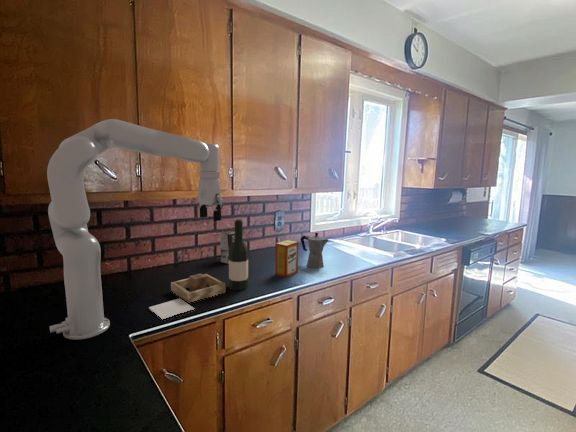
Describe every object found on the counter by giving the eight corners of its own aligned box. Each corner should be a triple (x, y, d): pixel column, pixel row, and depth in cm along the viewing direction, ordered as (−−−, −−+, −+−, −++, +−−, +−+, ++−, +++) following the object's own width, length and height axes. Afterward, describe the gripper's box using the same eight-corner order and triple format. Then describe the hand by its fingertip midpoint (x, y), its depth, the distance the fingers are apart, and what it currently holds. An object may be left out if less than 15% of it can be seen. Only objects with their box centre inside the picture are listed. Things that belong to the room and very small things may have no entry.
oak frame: (188, 303, 122) (188, 294, 121) (171, 291, 133) (170, 282, 132) (225, 292, 133) (225, 283, 132) (206, 282, 144) (206, 273, 143)
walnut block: (195, 295, 129) (195, 279, 128) (189, 292, 133) (189, 276, 132) (206, 292, 133) (206, 276, 132) (200, 289, 136) (200, 273, 135)
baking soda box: (285, 277, 153) (286, 244, 150) (275, 274, 156) (275, 242, 154) (297, 272, 160) (298, 241, 157) (287, 269, 164) (287, 239, 161)
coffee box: (229, 264, 170) (229, 234, 167) (220, 262, 173) (220, 233, 171) (240, 260, 178) (240, 231, 175) (231, 258, 181) (231, 230, 178)
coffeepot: (329, 264, 173) (331, 232, 170) (324, 270, 165) (326, 235, 162) (302, 260, 179) (304, 229, 176) (296, 265, 171) (297, 232, 168)
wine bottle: (229, 291, 135) (229, 221, 130) (228, 284, 143) (227, 217, 138) (249, 289, 137) (249, 220, 132) (246, 282, 145) (247, 217, 140)
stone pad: (162, 320, 109) (162, 319, 108) (148, 308, 117) (148, 307, 117) (194, 310, 117) (194, 308, 117) (180, 299, 125) (179, 298, 125)
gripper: (189, 174, 128) (190, 217, 131) (213, 177, 116) (214, 223, 119) (205, 174, 133) (206, 215, 136) (230, 176, 122) (231, 220, 125)
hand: (210, 218), depth 128 cm, fingers open, 9 cm apart
